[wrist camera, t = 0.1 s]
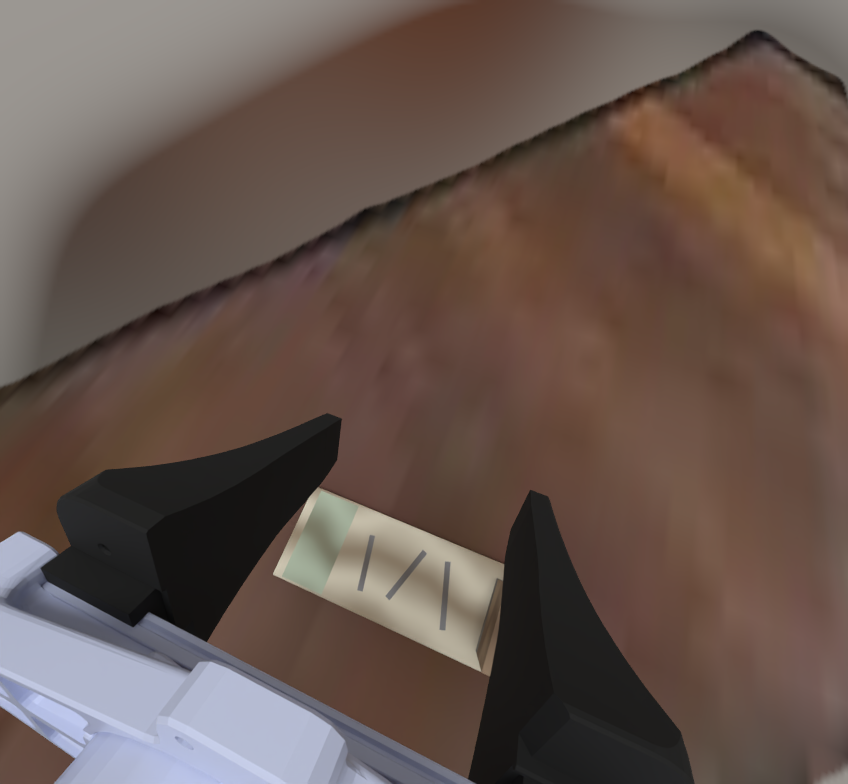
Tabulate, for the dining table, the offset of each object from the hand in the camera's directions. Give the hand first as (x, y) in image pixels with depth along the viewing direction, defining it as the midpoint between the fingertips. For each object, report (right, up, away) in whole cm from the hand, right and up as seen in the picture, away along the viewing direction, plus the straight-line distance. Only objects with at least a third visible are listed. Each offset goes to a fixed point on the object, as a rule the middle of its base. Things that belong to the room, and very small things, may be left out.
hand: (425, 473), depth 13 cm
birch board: (-1, -18, +28) cm, 33 cm away
